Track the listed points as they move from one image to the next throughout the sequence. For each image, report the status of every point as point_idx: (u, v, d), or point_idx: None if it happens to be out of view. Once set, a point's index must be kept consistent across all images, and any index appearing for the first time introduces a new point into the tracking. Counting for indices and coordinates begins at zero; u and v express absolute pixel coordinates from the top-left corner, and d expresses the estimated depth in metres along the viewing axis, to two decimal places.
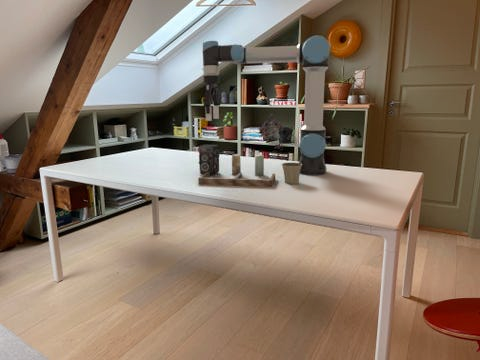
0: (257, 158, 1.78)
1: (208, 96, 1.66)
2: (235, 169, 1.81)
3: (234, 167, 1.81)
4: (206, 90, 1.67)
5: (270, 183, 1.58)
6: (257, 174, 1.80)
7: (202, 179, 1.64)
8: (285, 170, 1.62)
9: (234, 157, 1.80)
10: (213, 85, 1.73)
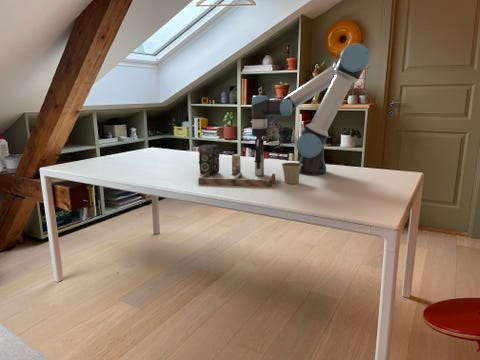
0: None
1: (259, 153, 1.73)
2: (235, 169, 1.81)
3: (234, 167, 1.81)
4: (256, 147, 1.72)
5: (270, 183, 1.58)
6: None
7: (202, 179, 1.64)
8: (285, 170, 1.62)
9: (234, 157, 1.80)
10: (261, 137, 1.76)
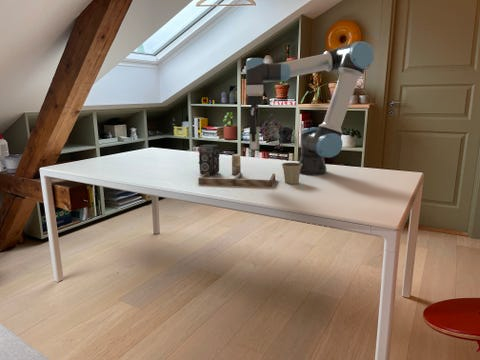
0: None
1: (254, 123, 1.54)
2: (235, 169, 1.81)
3: (234, 167, 1.81)
4: (251, 116, 1.54)
5: (270, 183, 1.58)
6: None
7: (202, 179, 1.64)
8: (285, 170, 1.62)
9: (234, 157, 1.80)
10: (256, 106, 1.57)
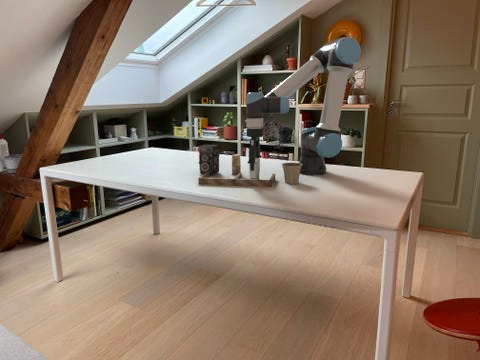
0: None
1: (253, 153, 1.55)
2: (235, 169, 1.81)
3: (234, 167, 1.81)
4: (250, 146, 1.55)
5: (270, 183, 1.58)
6: None
7: (202, 179, 1.64)
8: (285, 170, 1.62)
9: (234, 157, 1.80)
10: (256, 138, 1.61)
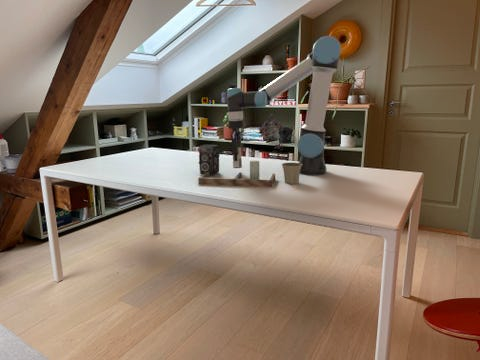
0: (252, 165, 1.62)
1: (235, 145, 1.74)
2: None
3: None
4: (232, 139, 1.74)
5: (270, 183, 1.58)
6: None
7: (202, 179, 1.64)
8: (285, 170, 1.62)
9: None
10: (237, 129, 1.78)
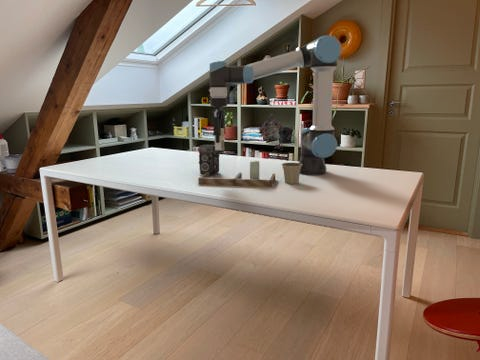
0: (252, 164, 1.63)
1: (217, 125, 1.57)
2: None
3: None
4: (214, 118, 1.57)
5: (270, 183, 1.58)
6: None
7: (202, 179, 1.64)
8: (285, 170, 1.62)
9: None
10: (220, 108, 1.61)
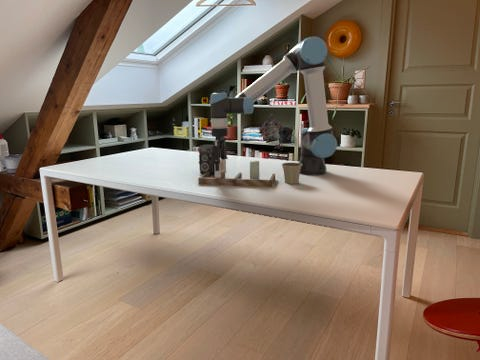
0: (252, 164, 1.63)
1: (217, 153, 1.59)
2: None
3: None
4: (214, 146, 1.59)
5: (270, 183, 1.58)
6: None
7: (202, 179, 1.64)
8: (285, 170, 1.62)
9: None
10: (221, 138, 1.64)
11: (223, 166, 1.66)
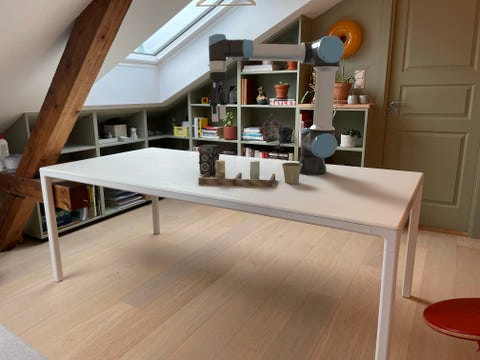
0: (252, 164, 1.63)
1: (215, 95, 1.52)
2: (218, 176, 1.67)
3: (218, 174, 1.67)
4: (212, 88, 1.53)
5: (270, 183, 1.58)
6: None
7: (202, 179, 1.64)
8: (285, 170, 1.62)
9: (218, 163, 1.66)
10: (220, 83, 1.58)
11: (223, 166, 1.66)
